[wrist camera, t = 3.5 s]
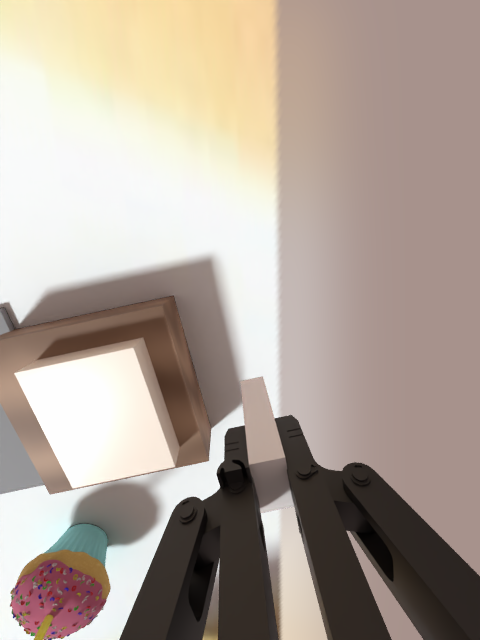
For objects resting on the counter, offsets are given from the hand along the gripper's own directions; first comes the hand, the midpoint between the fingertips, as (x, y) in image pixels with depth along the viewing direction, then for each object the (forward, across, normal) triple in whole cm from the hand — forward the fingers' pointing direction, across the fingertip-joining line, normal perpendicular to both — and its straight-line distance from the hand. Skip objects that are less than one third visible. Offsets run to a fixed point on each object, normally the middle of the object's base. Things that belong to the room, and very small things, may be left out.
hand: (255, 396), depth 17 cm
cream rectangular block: (+3, +11, 0) cm, 12 cm away
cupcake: (+7, +22, +18) cm, 30 cm away
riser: (+7, +12, 0) cm, 14 cm away
